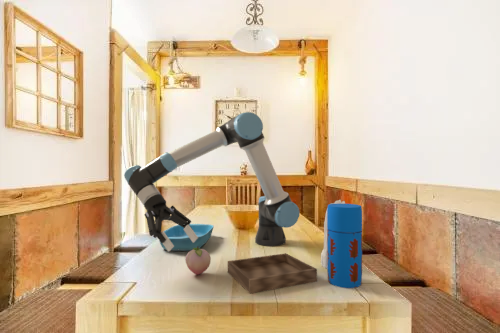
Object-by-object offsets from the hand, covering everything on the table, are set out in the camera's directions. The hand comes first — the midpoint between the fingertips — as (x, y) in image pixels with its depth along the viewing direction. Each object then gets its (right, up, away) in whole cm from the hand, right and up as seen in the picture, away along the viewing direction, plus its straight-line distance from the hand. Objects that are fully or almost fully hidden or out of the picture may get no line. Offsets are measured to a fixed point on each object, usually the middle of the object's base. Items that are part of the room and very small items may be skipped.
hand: (184, 244), depth 110 cm
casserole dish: (-7, -10, +42) cm, 44 cm away
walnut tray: (+30, -10, -4) cm, 32 cm away
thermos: (+54, -10, -9) cm, 56 cm away
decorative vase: (+56, -10, +7) cm, 57 cm away
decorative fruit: (+5, -10, -2) cm, 12 cm away
